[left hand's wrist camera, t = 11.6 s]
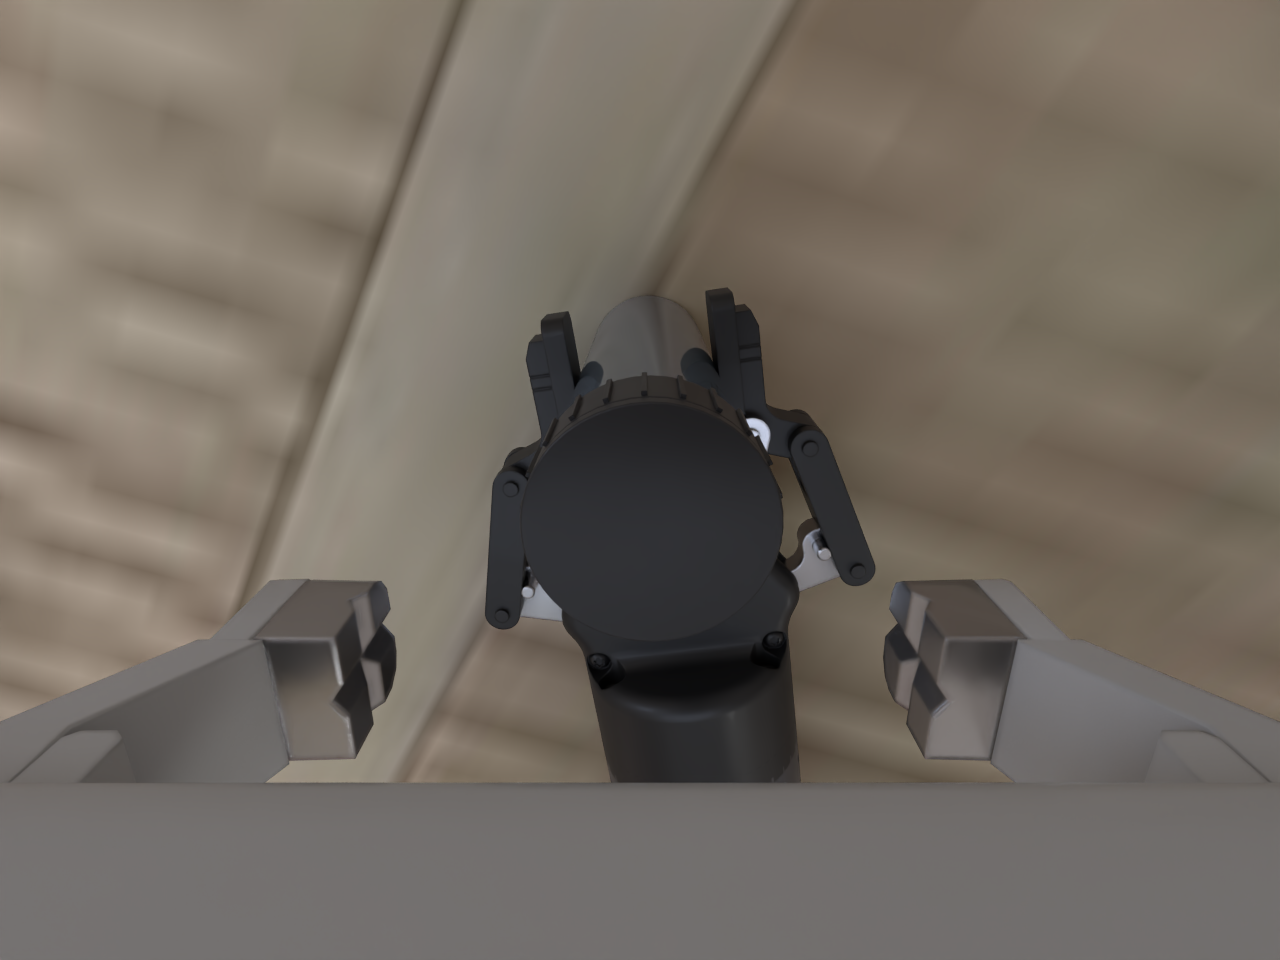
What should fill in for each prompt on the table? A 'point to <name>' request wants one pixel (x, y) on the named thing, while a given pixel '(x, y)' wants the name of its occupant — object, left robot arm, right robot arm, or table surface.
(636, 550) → the lid
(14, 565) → the table surface
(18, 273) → the table surface
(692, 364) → the dark grey cylinder
